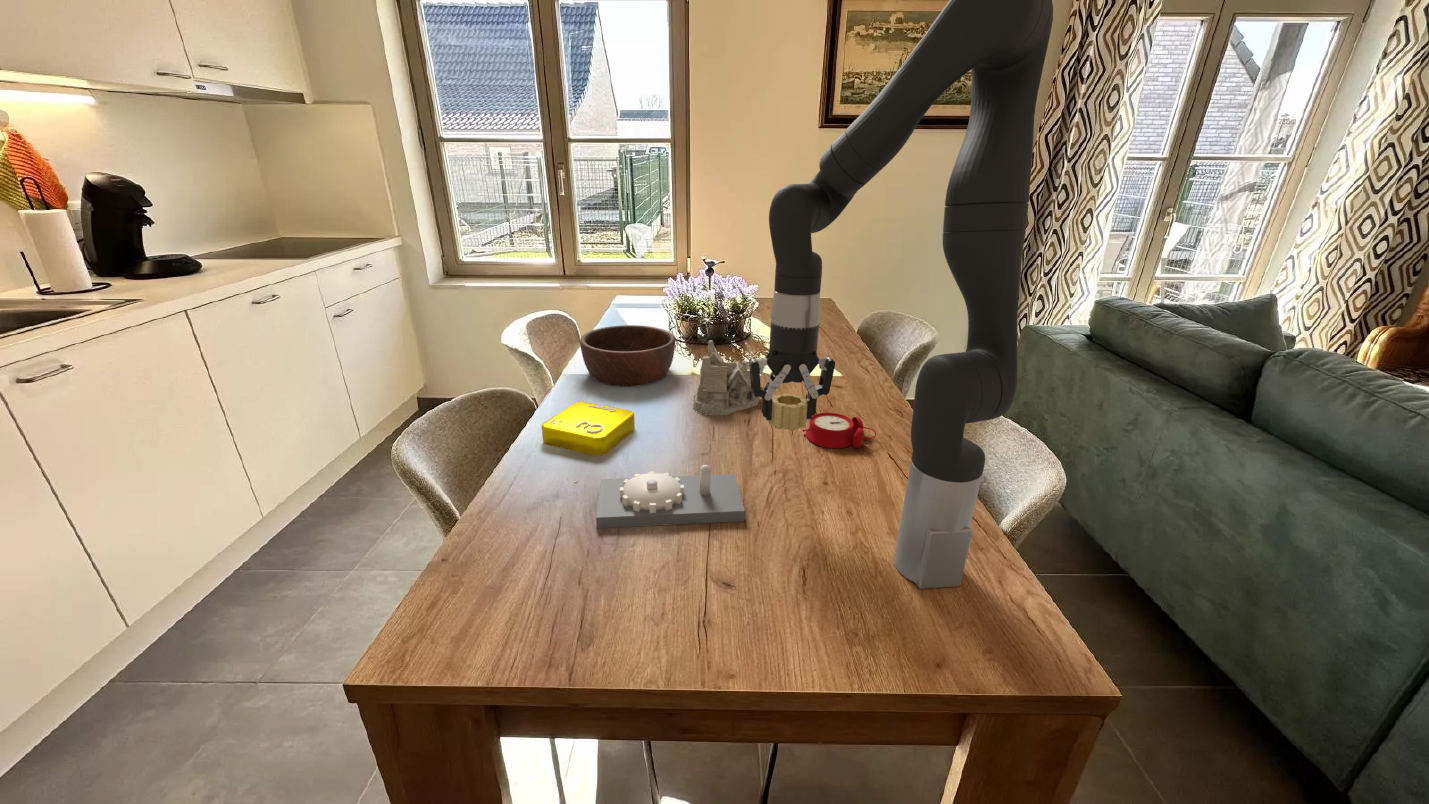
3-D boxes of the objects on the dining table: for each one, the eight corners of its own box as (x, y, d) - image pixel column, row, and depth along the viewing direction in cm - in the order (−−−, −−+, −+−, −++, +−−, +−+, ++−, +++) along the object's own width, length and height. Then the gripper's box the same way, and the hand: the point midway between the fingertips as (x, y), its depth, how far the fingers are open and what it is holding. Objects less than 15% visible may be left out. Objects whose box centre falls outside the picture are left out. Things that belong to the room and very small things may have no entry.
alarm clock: (802, 410, 131) (871, 402, 128) (806, 435, 134) (874, 428, 130) (800, 430, 122) (875, 422, 119) (805, 457, 124) (878, 450, 121)
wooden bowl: (631, 353, 177) (630, 319, 173) (694, 373, 162) (694, 337, 158) (562, 374, 159) (559, 337, 155) (626, 399, 144) (625, 359, 140)
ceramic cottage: (685, 412, 138) (690, 350, 132) (702, 389, 152) (707, 333, 147) (751, 423, 135) (759, 361, 129) (762, 399, 150) (769, 342, 144)
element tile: (638, 428, 130) (637, 408, 128) (602, 459, 117) (601, 437, 115) (579, 417, 135) (578, 397, 133) (539, 445, 122) (536, 424, 120)
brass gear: (811, 429, 97) (813, 407, 95) (773, 431, 96) (774, 408, 94) (801, 414, 102) (802, 392, 101) (765, 415, 102) (766, 393, 100)
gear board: (744, 521, 98) (746, 482, 95) (596, 528, 95) (594, 488, 92) (733, 483, 109) (735, 447, 106) (601, 488, 106) (599, 452, 103)
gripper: (754, 326, 88) (749, 429, 94) (847, 325, 90) (836, 425, 96) (745, 314, 95) (741, 410, 101) (832, 313, 97) (823, 408, 103)
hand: (788, 417), depth 99 cm, fingers closed on brass gear, 6 cm apart
